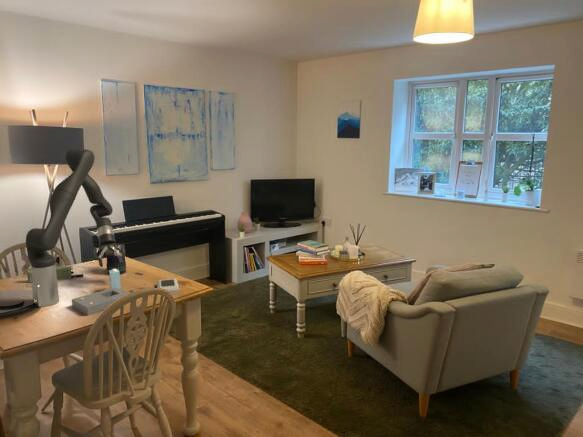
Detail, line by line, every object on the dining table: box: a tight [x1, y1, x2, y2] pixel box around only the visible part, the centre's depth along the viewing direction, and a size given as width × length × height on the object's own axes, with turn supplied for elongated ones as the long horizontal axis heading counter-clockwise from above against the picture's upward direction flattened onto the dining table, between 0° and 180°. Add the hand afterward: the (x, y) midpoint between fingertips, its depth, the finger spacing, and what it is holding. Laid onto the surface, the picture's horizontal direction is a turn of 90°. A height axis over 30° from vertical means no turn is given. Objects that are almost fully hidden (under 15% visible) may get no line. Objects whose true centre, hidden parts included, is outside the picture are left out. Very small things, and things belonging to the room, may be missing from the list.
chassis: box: [71, 287, 129, 316], centre depth 195 cm, size 20×14×4 cm
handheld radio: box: [26, 265, 84, 284], centre depth 226 cm, size 7×3×25 cm
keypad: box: [156, 278, 180, 295], centre depth 215 cm, size 10×4×15 cm
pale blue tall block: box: [108, 269, 122, 290], centre depth 211 cm, size 4×4×11 cm
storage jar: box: [105, 242, 127, 276], centre depth 238 cm, size 10×10×15 cm
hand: (111, 265), depth 215 cm, fingers open, 8 cm apart
